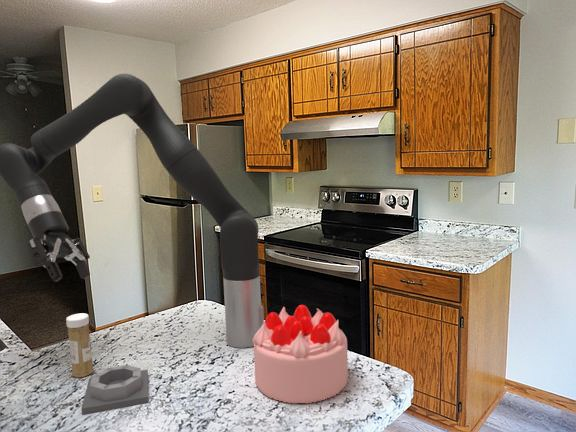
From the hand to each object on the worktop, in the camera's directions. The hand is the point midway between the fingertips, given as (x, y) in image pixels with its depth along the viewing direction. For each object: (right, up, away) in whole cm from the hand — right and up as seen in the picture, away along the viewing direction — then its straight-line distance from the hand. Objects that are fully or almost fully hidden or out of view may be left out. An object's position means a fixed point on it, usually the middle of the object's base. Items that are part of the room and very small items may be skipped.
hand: (73, 278), depth 102 cm
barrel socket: (+14, -22, -10) cm, 28 cm away
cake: (+51, -21, -6) cm, 56 cm away
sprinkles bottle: (+3, -22, -1) cm, 22 cm away
